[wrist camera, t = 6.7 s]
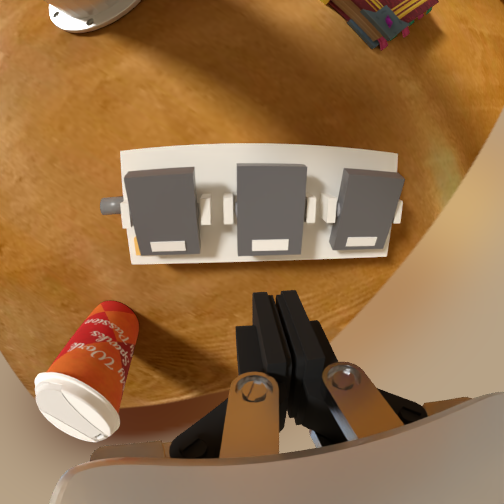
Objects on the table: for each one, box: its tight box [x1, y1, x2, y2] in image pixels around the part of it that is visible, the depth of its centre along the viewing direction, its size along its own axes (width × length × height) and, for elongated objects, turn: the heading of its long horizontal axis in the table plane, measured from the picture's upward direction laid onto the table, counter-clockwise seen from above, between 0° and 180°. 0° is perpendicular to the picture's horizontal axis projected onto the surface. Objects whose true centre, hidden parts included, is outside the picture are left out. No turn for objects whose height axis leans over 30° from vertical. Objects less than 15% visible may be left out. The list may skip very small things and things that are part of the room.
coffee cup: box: [35, 301, 139, 442], centre depth 24 cm, size 8×8×15 cm
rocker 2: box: [329, 168, 405, 250], centre depth 23 cm, size 7×5×2 cm
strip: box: [100, 143, 403, 264], centre depth 25 cm, size 10×27×6 cm, turn 90°
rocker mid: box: [235, 163, 307, 256], centre depth 22 cm, size 7×5×2 cm
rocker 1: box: [124, 167, 201, 256], centre depth 22 cm, size 7×5×2 cm
